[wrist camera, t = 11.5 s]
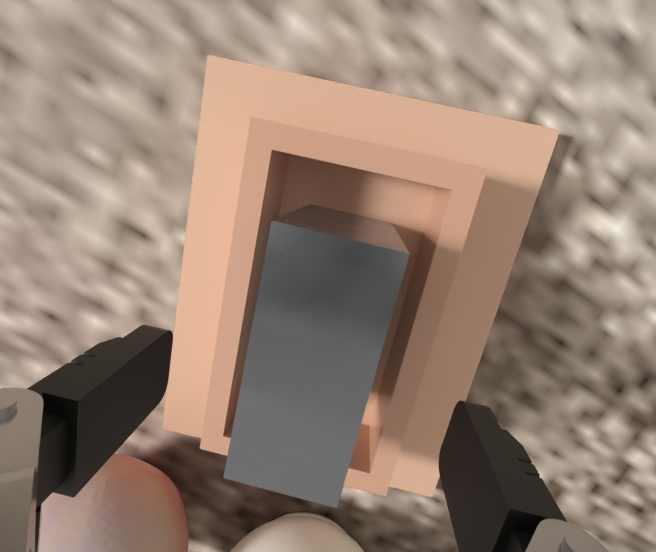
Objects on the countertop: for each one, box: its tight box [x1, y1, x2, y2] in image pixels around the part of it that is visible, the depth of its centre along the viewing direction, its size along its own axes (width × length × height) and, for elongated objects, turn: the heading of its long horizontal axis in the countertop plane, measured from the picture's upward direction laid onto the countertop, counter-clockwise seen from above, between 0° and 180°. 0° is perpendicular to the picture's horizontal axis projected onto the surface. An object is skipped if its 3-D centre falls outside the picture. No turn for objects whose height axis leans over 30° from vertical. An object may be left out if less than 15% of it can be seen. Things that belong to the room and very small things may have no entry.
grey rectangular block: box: [223, 204, 410, 508], centre depth 16 cm, size 9×4×8 cm, turn 167°
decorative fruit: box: [39, 454, 188, 552], centre depth 20 cm, size 9×8×10 cm
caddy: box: [162, 55, 560, 497], centre depth 18 cm, size 16×20×4 cm
